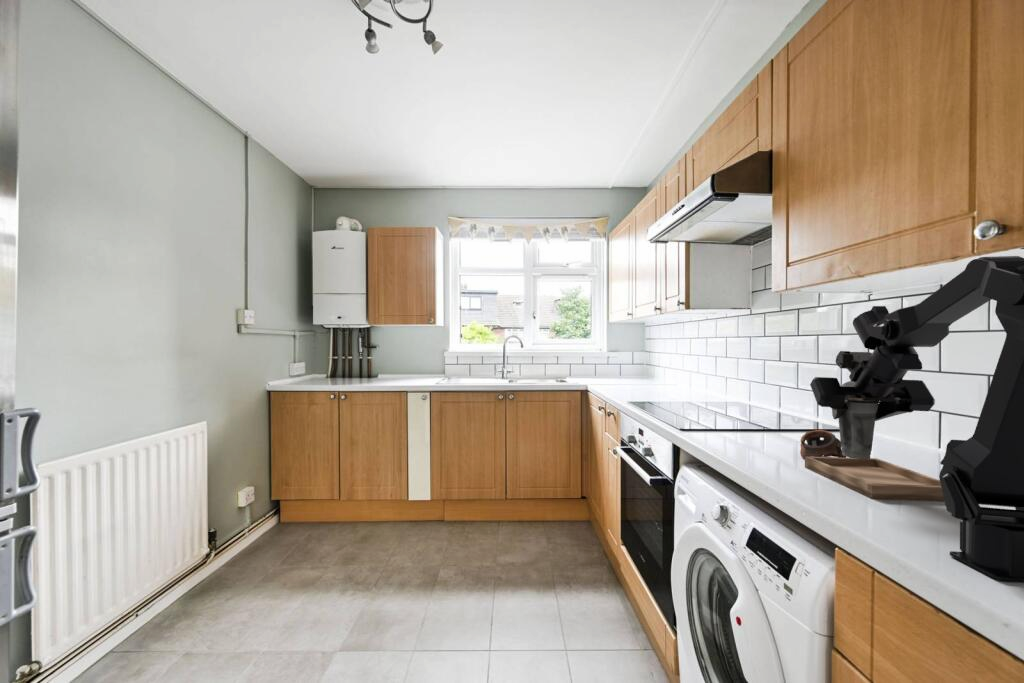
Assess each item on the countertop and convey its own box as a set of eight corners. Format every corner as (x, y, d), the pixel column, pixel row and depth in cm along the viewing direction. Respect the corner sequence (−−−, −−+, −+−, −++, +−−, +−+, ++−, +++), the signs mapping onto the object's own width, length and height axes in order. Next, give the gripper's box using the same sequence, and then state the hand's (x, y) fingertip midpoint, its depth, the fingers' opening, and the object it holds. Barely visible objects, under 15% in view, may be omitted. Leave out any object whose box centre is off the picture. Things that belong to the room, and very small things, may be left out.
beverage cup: (825, 451, 93) (826, 358, 93) (859, 452, 93) (860, 358, 93) (852, 461, 85) (853, 359, 86) (889, 461, 85) (889, 360, 86)
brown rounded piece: (859, 467, 103) (849, 439, 101) (819, 482, 105) (809, 454, 103) (826, 443, 115) (816, 417, 113) (791, 456, 116) (781, 431, 114)
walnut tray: (961, 501, 80) (961, 488, 80) (871, 498, 81) (871, 485, 81) (876, 469, 100) (876, 458, 100) (804, 467, 101) (804, 456, 101)
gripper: (925, 338, 83) (889, 390, 94) (814, 337, 88) (792, 386, 98) (955, 383, 75) (913, 433, 86) (833, 379, 80) (807, 428, 90)
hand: (853, 418), depth 90 cm, fingers closed on beverage cup, 7 cm apart
